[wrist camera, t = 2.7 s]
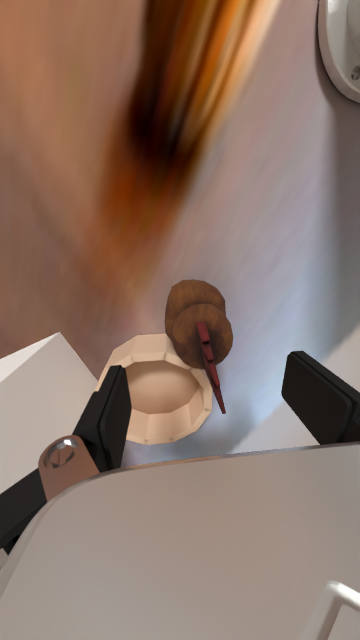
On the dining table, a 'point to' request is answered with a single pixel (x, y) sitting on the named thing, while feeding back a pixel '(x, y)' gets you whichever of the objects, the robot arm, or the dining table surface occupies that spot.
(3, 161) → the dining table surface
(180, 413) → the pot
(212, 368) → the wooden figurine
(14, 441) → the milk
